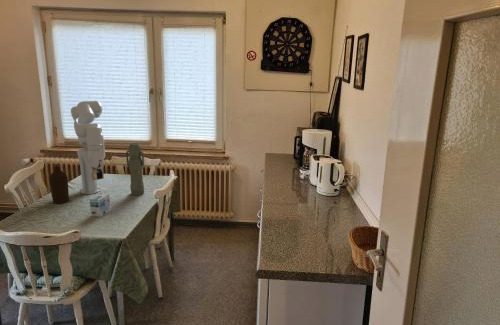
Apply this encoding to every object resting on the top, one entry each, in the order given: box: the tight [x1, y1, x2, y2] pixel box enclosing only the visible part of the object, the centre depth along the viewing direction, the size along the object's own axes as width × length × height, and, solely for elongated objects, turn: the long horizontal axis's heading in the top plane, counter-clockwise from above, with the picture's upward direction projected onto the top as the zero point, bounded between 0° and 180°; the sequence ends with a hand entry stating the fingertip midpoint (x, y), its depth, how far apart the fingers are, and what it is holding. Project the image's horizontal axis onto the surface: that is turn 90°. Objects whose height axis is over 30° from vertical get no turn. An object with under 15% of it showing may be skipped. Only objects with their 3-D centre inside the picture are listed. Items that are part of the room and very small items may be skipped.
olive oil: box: [48, 163, 70, 205], centre depth 237 cm, size 11×11×25 cm
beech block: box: [91, 168, 105, 181], centre depth 216 cm, size 5×5×6 cm
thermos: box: [125, 142, 145, 196], centre depth 252 cm, size 9×12×35 cm
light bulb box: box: [89, 192, 111, 218], centre depth 221 cm, size 11×7×11 cm, turn 168°
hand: (97, 177), depth 216 cm, fingers closed on beech block, 5 cm apart
